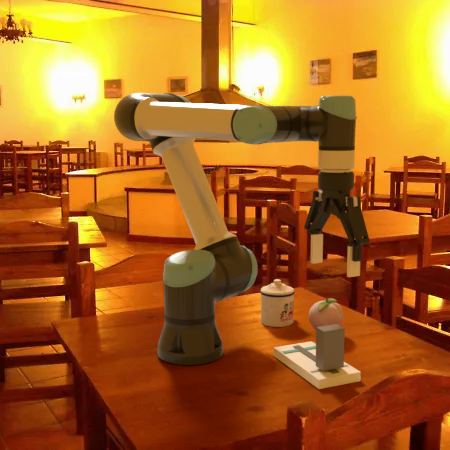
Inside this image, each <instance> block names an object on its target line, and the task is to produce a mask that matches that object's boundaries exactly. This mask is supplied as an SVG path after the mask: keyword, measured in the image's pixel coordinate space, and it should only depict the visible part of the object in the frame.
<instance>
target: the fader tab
mask: <svg viewBox="0 0 450 450" xmlns="http://www.w3.org/2000/svg"><path fill="white" fill-rule="evenodd" d="M345 328H346V327H344V326H341V325H338V324H334V325H327V326H320V327H316V330H315V337H316V338H315V344H316V367H318V368H319V369H321V370H322V371H326V370H332V369H337V368H343V367H344V362H345V341H346V340H345V336H346V332H345V331H346V329H345Z"/></svg>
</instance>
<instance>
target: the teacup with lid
mask: <svg viewBox="0 0 450 450" xmlns="http://www.w3.org/2000/svg"><path fill="white" fill-rule="evenodd" d="M294 296H295V289H294V288H293V287H292V286H289V285H287V284H285V283H282V280H281V279H278V278H276V279H274V280H273V282H271V283H270V284H268V285H264V286H262V287H261V288H260V322H261V323H262V325H264V326H267V327H272V328H284V327H289V326H291V325H293V323H294V305H295V303H294V301H295V299H294V298H295V297H294Z"/></svg>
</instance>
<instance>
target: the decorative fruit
mask: <svg viewBox="0 0 450 450" xmlns="http://www.w3.org/2000/svg"><path fill="white" fill-rule="evenodd" d="M337 302H338V300H337V299H335V298H332V297H330V298H328V296H326V299H325V300H319V301H317V302H315V303H314V304H312V306H311V307H310V309H309V312H308V320H309V323H310V325H311V327H312V328H313V329H314V330H315V331H316V327H320V326H327V325H334V324H338V325H340V326H341V325H342V323H343V320H344V316H345V315H344V310H343V308H342V306H341V304H339V303H337Z"/></svg>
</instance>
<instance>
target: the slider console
mask: <svg viewBox="0 0 450 450" xmlns="http://www.w3.org/2000/svg"><path fill="white" fill-rule="evenodd" d="M273 357H274V358H276V359H277V360H279V361H280V362H281V363H283V364H284V365H286V366H287V367H288V368H289V369H291V370H292V371H293V372H295V373H296V374H297V375H298V376H300V377H301V378H303V379H305V380H306V381H307V382H308V383H310V385H312V386H313V387H315V388H317V389H318V390H323V389H326V388H332V387H337V386H342V385H347V384H353V383H359V382H361V379H362V377H361V373H362V372H361V371H360V370H358V369H357V368H355V367H354V366H352V365H350V364H349V363H347V362H345V361H344V367H343V368H337V369H332V370H326V371H322V370H321V369H319V368H318V367H316V342H314V341H305V342H298V343H294V344H292V343H291V344H287V345H280V346H274V347H273Z"/></svg>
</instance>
